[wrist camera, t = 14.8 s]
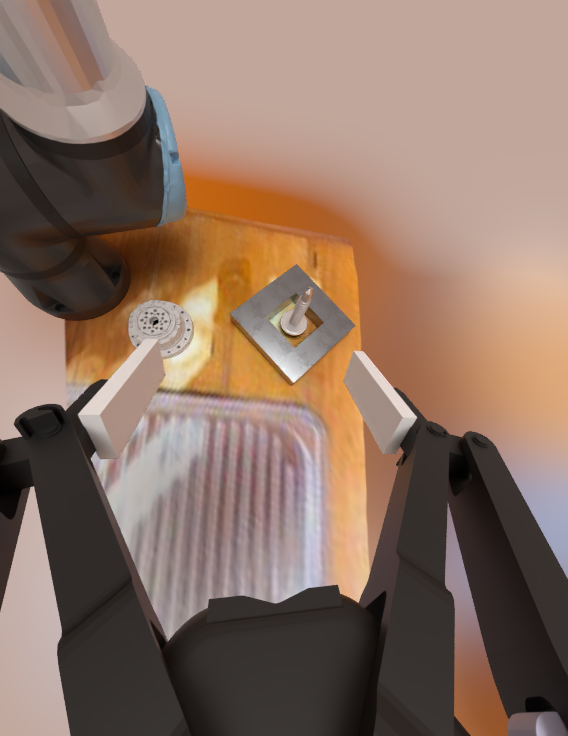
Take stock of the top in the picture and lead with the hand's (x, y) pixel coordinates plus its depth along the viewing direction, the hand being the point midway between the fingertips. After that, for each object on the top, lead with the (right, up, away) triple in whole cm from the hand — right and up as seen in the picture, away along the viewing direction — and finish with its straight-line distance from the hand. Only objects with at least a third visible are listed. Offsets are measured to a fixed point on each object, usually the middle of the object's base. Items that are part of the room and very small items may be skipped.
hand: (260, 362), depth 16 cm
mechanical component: (-19, +6, +24) cm, 31 cm away
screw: (+3, +7, +28) cm, 29 cm away
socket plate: (+3, +7, +27) cm, 29 cm away
